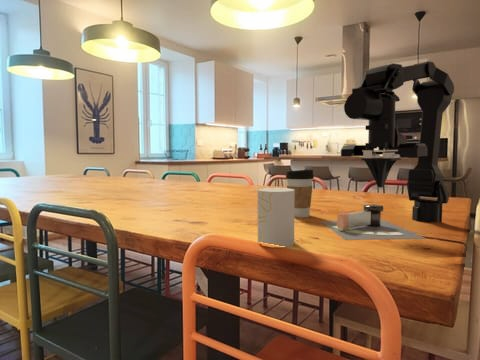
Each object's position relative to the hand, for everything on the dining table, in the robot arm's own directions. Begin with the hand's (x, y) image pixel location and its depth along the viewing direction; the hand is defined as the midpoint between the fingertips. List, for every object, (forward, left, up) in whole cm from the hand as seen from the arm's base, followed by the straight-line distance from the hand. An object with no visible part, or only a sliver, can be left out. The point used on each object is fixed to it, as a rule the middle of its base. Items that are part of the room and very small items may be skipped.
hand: (380, 187), depth 82 cm
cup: (+26, +5, -12) cm, 29 cm away
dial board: (+2, -3, -12) cm, 12 cm away
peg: (+3, -5, -11) cm, 12 cm away
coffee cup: (+15, -23, -12) cm, 30 cm away
